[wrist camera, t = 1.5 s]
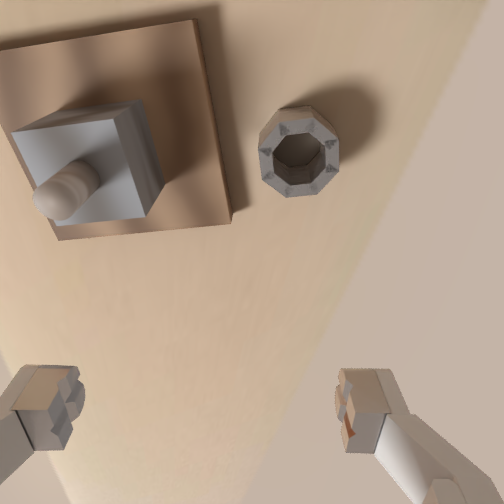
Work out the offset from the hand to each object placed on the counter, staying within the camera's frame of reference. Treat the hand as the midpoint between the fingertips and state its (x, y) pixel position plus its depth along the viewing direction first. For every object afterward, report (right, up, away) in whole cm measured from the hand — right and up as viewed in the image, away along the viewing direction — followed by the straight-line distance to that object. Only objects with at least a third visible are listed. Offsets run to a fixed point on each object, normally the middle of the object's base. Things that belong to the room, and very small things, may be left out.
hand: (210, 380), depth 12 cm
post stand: (-10, +14, +20) cm, 26 cm away
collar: (+5, +13, +20) cm, 24 cm away
